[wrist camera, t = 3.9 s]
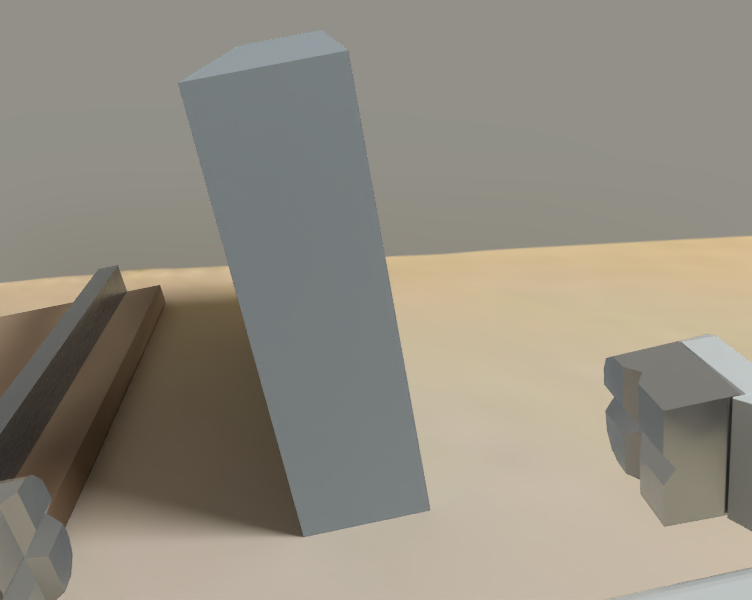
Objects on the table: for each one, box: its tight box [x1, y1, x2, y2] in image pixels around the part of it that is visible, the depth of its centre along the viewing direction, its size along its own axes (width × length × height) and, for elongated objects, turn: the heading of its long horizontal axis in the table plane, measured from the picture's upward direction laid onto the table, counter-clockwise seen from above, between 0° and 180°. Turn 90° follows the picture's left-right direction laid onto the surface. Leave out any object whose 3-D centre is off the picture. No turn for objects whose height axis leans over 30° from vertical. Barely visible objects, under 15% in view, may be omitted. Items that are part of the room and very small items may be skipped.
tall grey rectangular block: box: [178, 30, 430, 537], centre depth 24 cm, size 4×16×12 cm, turn 6°
